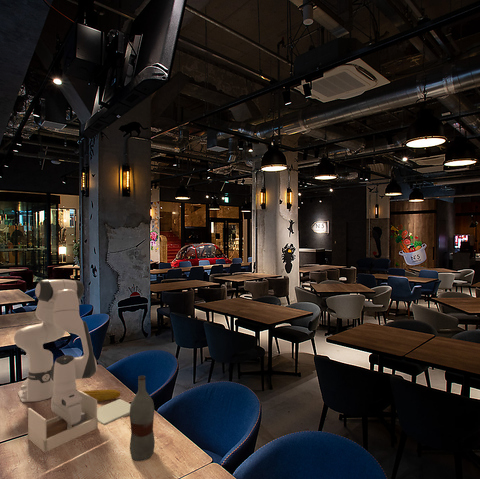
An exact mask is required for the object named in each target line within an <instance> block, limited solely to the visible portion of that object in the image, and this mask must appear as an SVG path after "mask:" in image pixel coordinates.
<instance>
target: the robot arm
mask: <svg viewBox="0 0 480 479" xmlns="http://www.w3.org/2000/svg"><path fill="white" fill-rule="evenodd" d="M34 291H35V292H34V293H35V297H36V299H37V300H38V302H37V306H36V310H35V313H34V314H35V317H36V318H37V319H38V320H39V321H41V322H40V323H36V324H31V325H27V326H25V327H22V328H19V329H17V331H16V332H15V333H14V336H13V341H14V344H15V345H16V346H17V347H18V348H20V349H22V350H23V351H24V352H25V353H26V355H27V357H28V368H29V369H28V372H27V378H26V379H25V380H23V383H22V385H21V386H20V390H19V391H17V394H18V397H19V399H20V401H21V402H22V403H27V402H40V401H46V400H47V399H50V398H51V403H50V408H51V412H52V413H54V414H55V415H56V416H58V420H61V419H64V420H66V421H67V426H66V430H68V429H70V428H72V425H73V424H75V423H78V422H79V421H80V419H81V404H80V402H81V401H82V397H81V396H80V394H79V393H78V391H79V390H78V389H77V383H76V380H79V379H82V380H83V379H90V378H92V377H93V376H94V375H95V374H96V373H97V371H98V370H97V369H98V364H97V359H96V357H95V354H94V349H93V345H92V340H91V335H90V330H89V327H88V324H87V322H86V321H85V320H83V319H82V318H81V316H80V303H79V300H81V299H82V297H83V296H84V293H85V286H84V284H83V282H82V281H80V280H76V279H74V280H72V279H63V278H62V279H61V278H60V279H42V280H40V281H38V282H37V284H36V287H35V289H34ZM66 333H69V334H74V335H76V336H78V337H79V338H80V340H81V346H82V349H83V355H82V356H76V357H74V356H73V355H70V354H65V355H62V356H59V357H57V358H56V359H55V361H54V354H53V353H52V351H50V350H49V349H44V344H47V343H50V342H55V341H57V340H58V339H59V340H60V339H61V338H63V337H64V336H65V335H66Z"/></svg>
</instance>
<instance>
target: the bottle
mask: <svg viewBox="0 0 480 479" xmlns="http://www.w3.org/2000/svg"><path fill="white" fill-rule="evenodd" d="M137 378H138V380H137V381H138V382H137V383H138V384H137V388H138V390H137V392H136V394H135V396H134V397H133V399H132V401H131V403H130V404H131V406H130V414H129V415H128V416H129V421H130V434H131V435H130V442H129V451H130V452H129V453H130V456H131V459H132V460H134V461H135V462H143V461H147V460H149V459H150V458H152V456H153V455H154V451H155V444H156V442H155V433H154V418H155V405H154V400H153V399H152V397H151V396H150V395H149V394H150V393H149V392H148V391H147V389H146V376H145V375H139V376H138V377H137Z"/></svg>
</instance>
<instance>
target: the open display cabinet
mask: <svg viewBox="0 0 480 479" xmlns="http://www.w3.org/2000/svg"><path fill="white" fill-rule="evenodd" d="M77 391H78V393H79V394H80V396H81V397H82V401H81V402H80V404H81V411H82V412H84V413H85V422H84V423H82V424H79V425H77V426H75V427H72V428H70V429H68V430H66V431H63V432H61V433H59V434H56V435H54V436H52V437H49V438H47V439H46V425H48V424H51V423H53V422H56V421H58V415H56V416H54V417H51V418H49V419H46V418H45V417H43V416H42V415H41V414H39V413H38V412H37V411H35V410H33V408H31V407H28V408H27V414H28V415H27V418H28V419H27V420H28V427H27V439H28V440H29V441H30V442H31V443H33V445H35V446H36V447H37V448H38V449H40V450H41V451H42V452H43V453H46V452H49V451H51V450H53V449H55V448H58V447H59V446H62V445H64V444H66V443H68V442H70V441H73V440H74V439H76V438H79V437H81V436H83V435H86V434H88V433H90V432H92V431H94V430H97V429H98V428H99V422H98V418H97V408H98V401H97V399H95V398H93V397H91V396H89V395H87V394H85V393H83V392H82V391H81V390H77Z"/></svg>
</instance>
